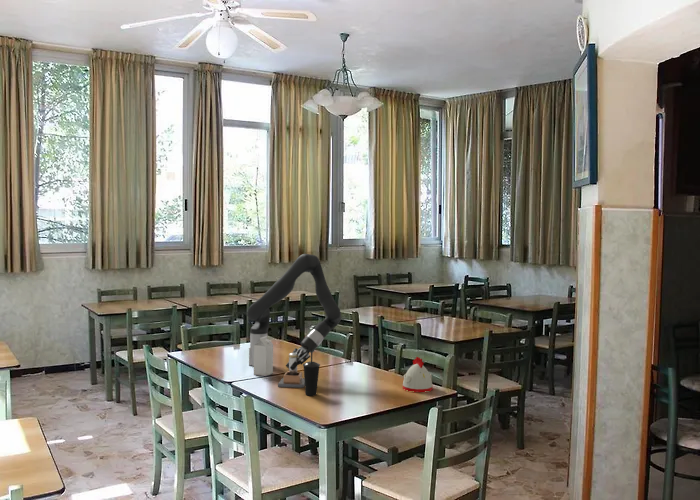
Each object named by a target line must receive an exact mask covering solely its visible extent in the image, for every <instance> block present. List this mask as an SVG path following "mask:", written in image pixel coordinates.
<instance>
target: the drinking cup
mask: <svg viewBox="0 0 700 500" xmlns="http://www.w3.org/2000/svg"><path fill="white" fill-rule="evenodd" d="M312 352H313V350H311V353H310V361H307V362H306V361H305V362H304V363H303V364H302V366H303V377H304V380H305V386H304V393H305V394H304V395H305V396H307V397H314V396H317V393H318V390H317V389H318V383H319V372H320V367H321V364H320V363H318V362H316V361H313V353H314V352H313V353H312Z"/></svg>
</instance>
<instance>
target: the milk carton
mask: <svg viewBox="0 0 700 500" xmlns="http://www.w3.org/2000/svg"><path fill="white" fill-rule="evenodd" d="M273 366H274V343H273V342H272V341H271V340H270V339H269V338H268V335H267V336H265V337H262V338H260V341H258V342H257V343H256V344H255V345H254V366H253V375H254V376H263V377H264V376H265V377H267V376H269V375H272V374H273V372H274V367H273Z"/></svg>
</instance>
